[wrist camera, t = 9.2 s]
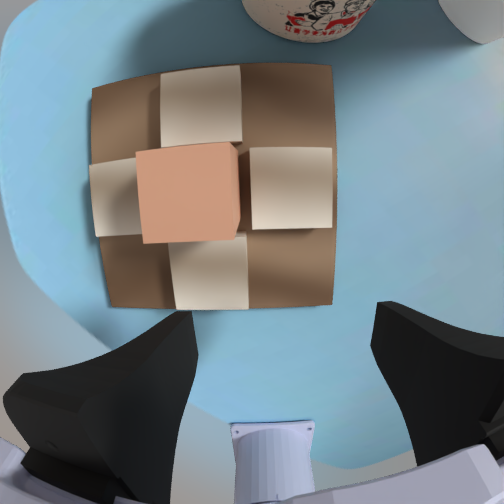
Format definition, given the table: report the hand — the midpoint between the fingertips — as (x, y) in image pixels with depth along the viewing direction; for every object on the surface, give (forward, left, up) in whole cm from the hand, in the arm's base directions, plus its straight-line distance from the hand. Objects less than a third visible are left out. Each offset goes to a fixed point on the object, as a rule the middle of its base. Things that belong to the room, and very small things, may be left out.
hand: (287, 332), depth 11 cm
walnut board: (+5, +4, -9) cm, 11 cm away
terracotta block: (+5, +4, -8) cm, 10 cm away
